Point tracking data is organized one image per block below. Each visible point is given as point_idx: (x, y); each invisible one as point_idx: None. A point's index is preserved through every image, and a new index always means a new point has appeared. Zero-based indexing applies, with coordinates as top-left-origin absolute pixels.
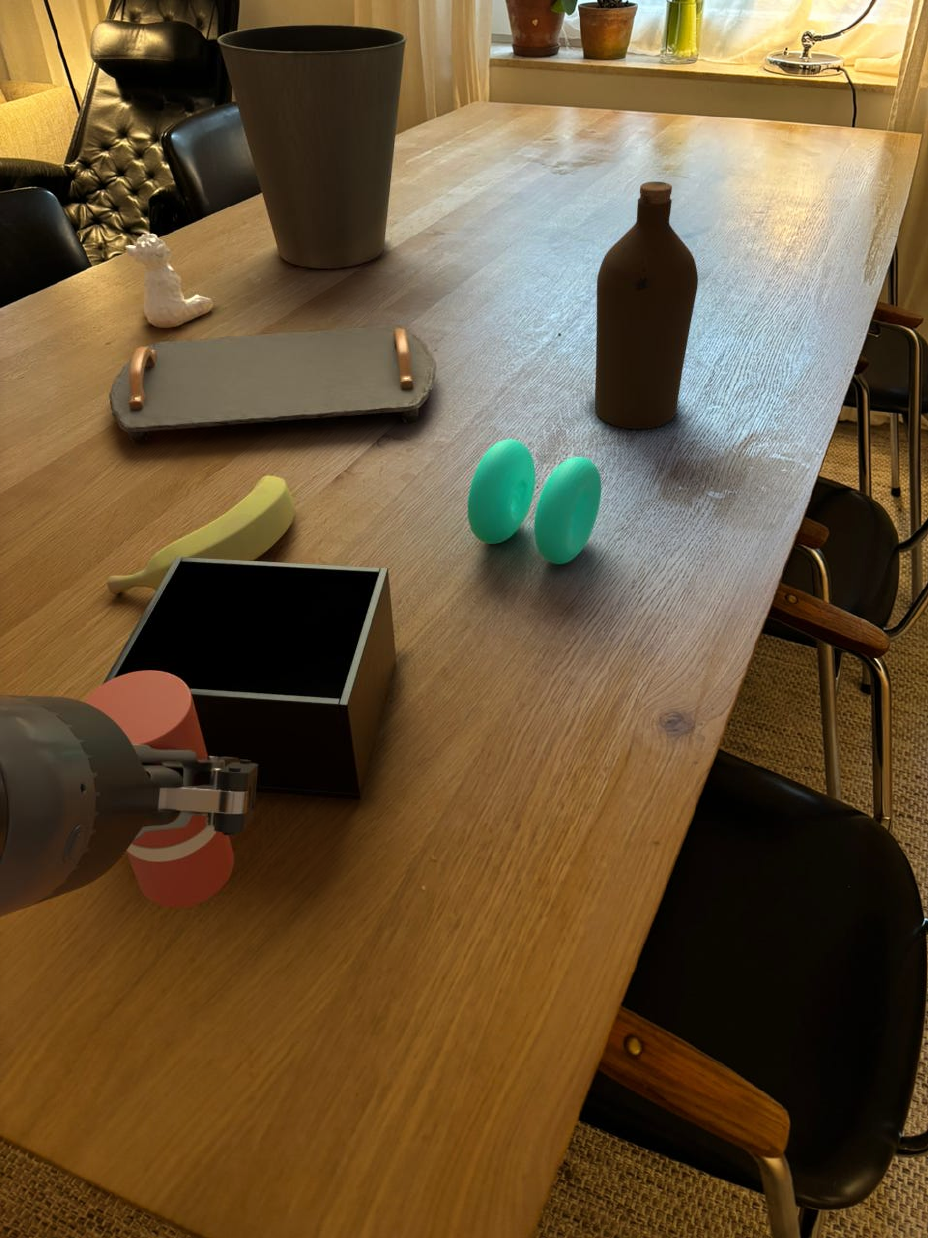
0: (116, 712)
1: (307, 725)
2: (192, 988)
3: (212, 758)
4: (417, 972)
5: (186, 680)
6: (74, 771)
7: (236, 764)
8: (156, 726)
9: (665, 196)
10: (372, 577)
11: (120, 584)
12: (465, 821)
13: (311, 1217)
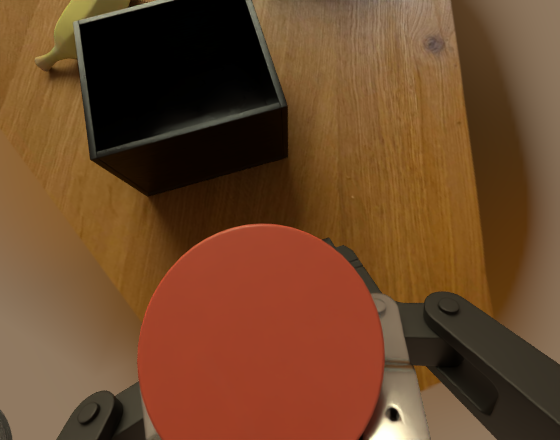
0: (230, 379)
1: (256, 129)
2: None
3: (382, 311)
4: (376, 247)
5: (136, 117)
6: None
7: (473, 338)
8: (345, 382)
9: None
10: None
11: (46, 62)
12: (353, 148)
13: None
